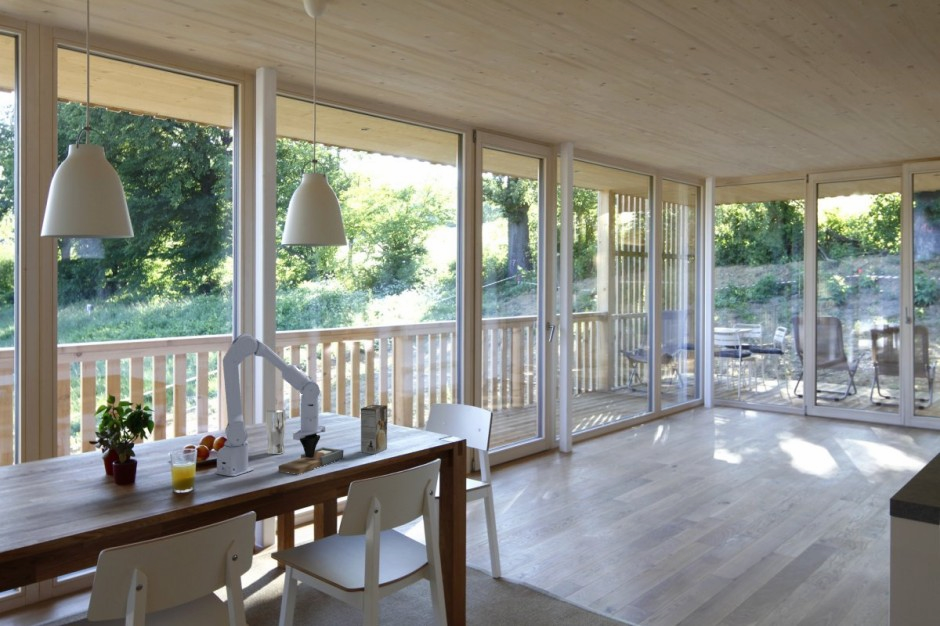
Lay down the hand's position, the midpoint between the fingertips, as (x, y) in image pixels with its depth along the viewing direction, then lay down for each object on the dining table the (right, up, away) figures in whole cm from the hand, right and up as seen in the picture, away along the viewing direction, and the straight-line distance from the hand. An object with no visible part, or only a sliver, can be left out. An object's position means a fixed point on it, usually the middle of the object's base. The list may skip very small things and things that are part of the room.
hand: (309, 457), depth 244 cm
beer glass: (-16, -2, +18) cm, 24 cm away
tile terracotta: (+1, -1, +3) cm, 3 cm away
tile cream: (+3, -2, +7) cm, 8 cm away
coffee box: (+18, -2, +23) cm, 29 cm away
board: (-2, -3, -4) cm, 5 cm away
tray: (+3, -3, +7) cm, 8 cm away
